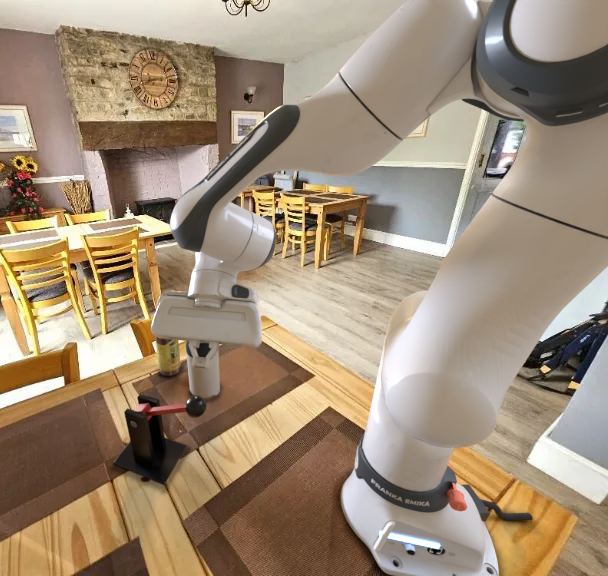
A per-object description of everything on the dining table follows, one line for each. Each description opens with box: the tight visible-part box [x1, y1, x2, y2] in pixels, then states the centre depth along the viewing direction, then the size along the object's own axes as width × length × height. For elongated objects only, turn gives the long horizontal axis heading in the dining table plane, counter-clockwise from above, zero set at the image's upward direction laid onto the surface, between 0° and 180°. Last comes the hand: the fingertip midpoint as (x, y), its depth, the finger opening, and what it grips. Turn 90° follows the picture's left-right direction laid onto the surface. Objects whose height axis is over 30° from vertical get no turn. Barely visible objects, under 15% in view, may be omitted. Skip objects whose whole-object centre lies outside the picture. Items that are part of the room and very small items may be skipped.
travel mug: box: [185, 341, 221, 399], centre depth 79 cm, size 8×8×18 cm
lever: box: [133, 395, 208, 420], centre depth 56 cm, size 16×4×4 cm, turn 67°
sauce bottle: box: [155, 308, 182, 377], centre depth 86 cm, size 6×6×20 cm
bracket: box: [112, 393, 188, 486], centre depth 61 cm, size 12×9×15 cm
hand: (200, 368), depth 54 cm, fingers closed
